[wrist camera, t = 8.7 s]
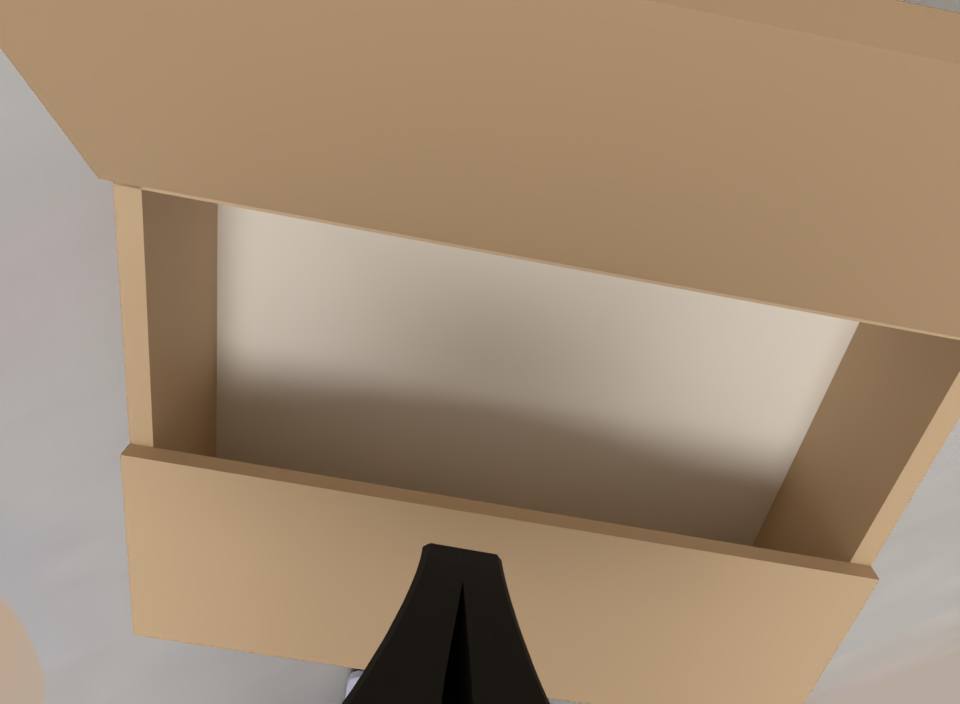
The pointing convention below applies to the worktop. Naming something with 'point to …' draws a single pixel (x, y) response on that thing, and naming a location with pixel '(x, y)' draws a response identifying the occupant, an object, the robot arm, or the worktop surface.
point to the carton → (505, 451)
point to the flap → (548, 129)
